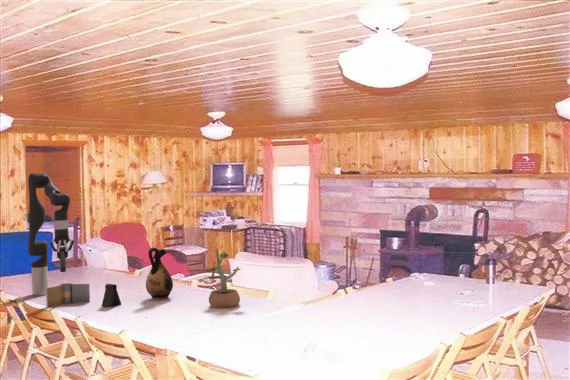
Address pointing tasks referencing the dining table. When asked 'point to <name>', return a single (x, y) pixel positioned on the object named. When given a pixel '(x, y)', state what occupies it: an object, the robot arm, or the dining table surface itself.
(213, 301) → the potted plant
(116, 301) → the phone stand
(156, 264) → the ceramic jug
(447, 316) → the dining table surface
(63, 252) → the hinge pin
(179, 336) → the dining table surface
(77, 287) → the hinge
